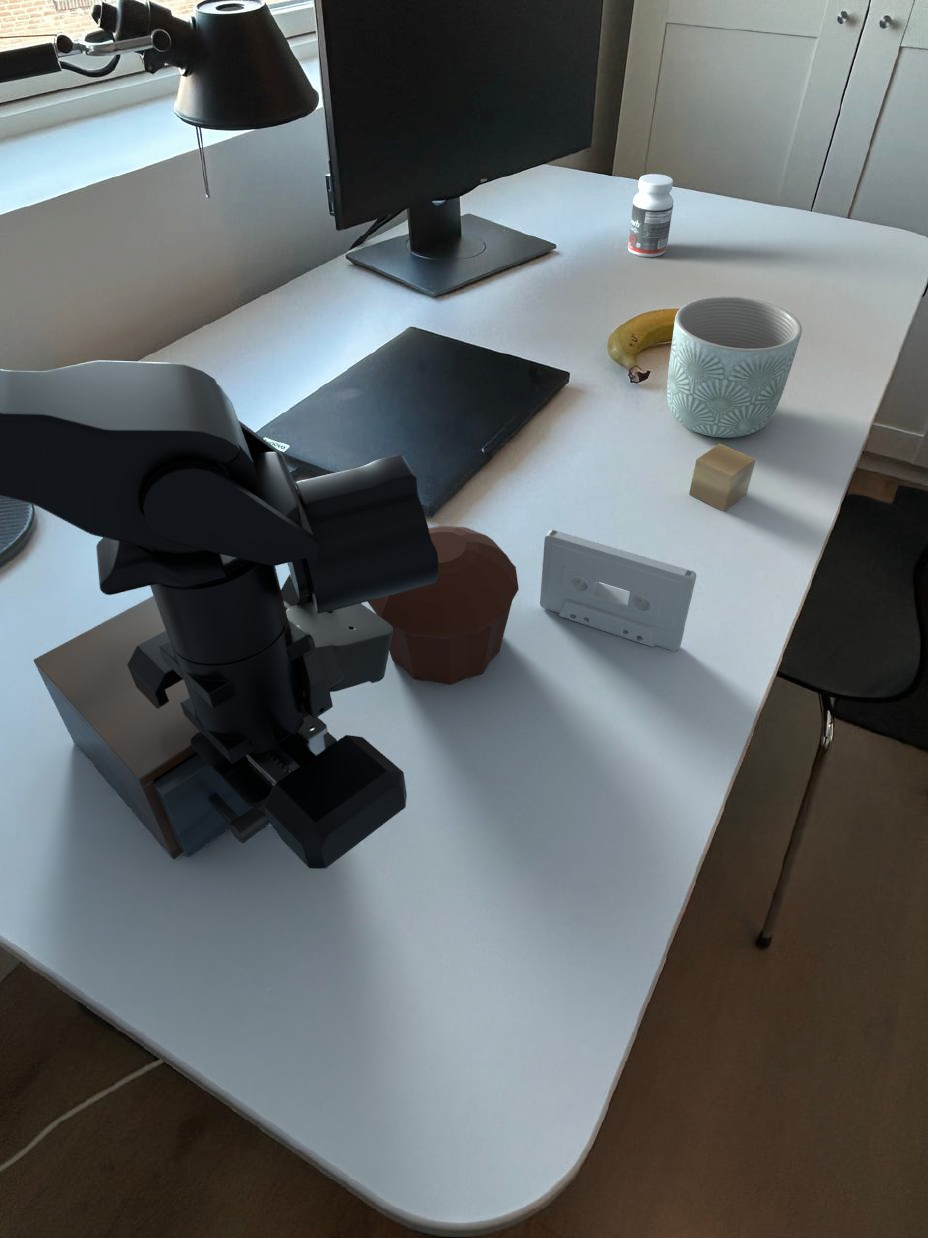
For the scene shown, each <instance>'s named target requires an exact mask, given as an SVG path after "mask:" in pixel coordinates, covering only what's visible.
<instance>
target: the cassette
mask: <svg viewBox="0 0 928 1238" xmlns="http://www.w3.org/2000/svg"><path fill="white" fill-rule="evenodd" d="M696 580H697V573H696V572H695V571H694V570H690V569H687V568H684V567H682V566H681V567H680V566H677V565H674V564H671V563H667V562H664V561H660V560H656V559H654V558H650V557H647V556H643V555H639V554H637V553H633V552H630V551H627V550H623V549H619V548H616V547H613V546H609V545H606V544H603V543H599V542H596V541H592V540H588V539H586V538H582V537H579V536H576V535H572V534H568V533H565V532H562V531H558V530H556V529H550V530H549V531H548V532H547V534H546V535H545V537H544V541H543V556H542V569H541V583H540V597H539V605H540V607H541V608H543V609H545V610H547V611H551V612H554V613H557V614H558V617H561V618H563V619H566V620H570V621H573V622H576V623H579V624H582V625H585V626H587V627H591V628H593V629H596V630H600V631H603V632H606V633H609V634H611V635H614V636H618V637H621V638H624V639H627V640H629V641H633V642H636V643H639V644H643V645H646V646H648V647H652V648H654V647H655V646H658V647H660V648H663V649H667V650H668V651H669V650H670V651H672V652H673V651H674V652H676V651H678V650H679V648H681V645H682V642H683V639H684V638H683V637H684V633H685V628H686V623H687V619H688V614H689V610H690V606H691V602H692V597H693V593H694V589H695V585H696Z"/></svg>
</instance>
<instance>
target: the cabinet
mask: <svg viewBox="0 0 928 1238" xmlns="http://www.w3.org/2000/svg"><path fill="white" fill-rule="evenodd" d="M165 630H166V629H165V626H164V623H163V620H162V618H161V615H160V612H159V609H158V606H157V604H156V601H155V598H154V595H152V596H149V597H148V598H146V599H144V600H143V601H141V602H138V603H137V604H135V605H133V606H131V607H129V608H127V609H126V610H123V611H122V612H120V613H118V614H116V615H114V616H113V617H110V618H108V619H106V620H105V621H103V622H101V623H100V624H97V625H95V626H93V627H92V628H90V629H88V630H86V631H84V632H83V633H81V634H79V635H76V636H75V637H73V638H71V639H70V640H68V641H65V642H63V643H62V644H60V645H58V646H56V647H54V648H52V649H50V650H49V651H47V652H46V653H43V654H41V655H39V656H38V657H35V658H34V659H33V662H34V665H35V667H36V668H37V671H38V673H39V674H40V677H41V680H42V682H43V683H44V685H45V688H46V690H47V691H48V694H49V695H50V698H51V699H52V701H53V704H54V706H55V707H56V709H57V712H58V713H59V716H60V718H61V720H62V722H63V723H64V726H65V727H66V730H67V732H68V734H69V735H70V737H71V740H72V742H73V743H74V744H75V746H76V747H77V748H78V750H79V751H80V752H81V753H83V755H84V757H86V759H87V760H88V761H89V762H90V763H91V764H92V765H93V768H95V769H96V771H98V773H99V774H100V776H102V777H103V779H104V780H105V781H106V782H107V783H108V784H109V786H110V787H111V788H112V789H113V790H114V791H115V793H116V794H117V795H118V796H119V797H120V799H121V800H122V801H123V802H124V804H126V806H127V807H128V808H129V809H130V810H131V812H132V813H133V814H134V815H135V816H136V817H137V819H138V820H139V821H140V823H142V825H143V826H145V828H146V829H147V830H148V832H149V833H150V834H151V835H152V836H153V837H154V838H155V840H156V841H157V843H159V845H160V846H161V847H162V848H163V849H164V851H165V852H166V853H167V854H168V855H169V856H170V858H171V859H172V860H175V859H177V858H178V857H179V856H181V855H182V854H184V852H183V851H182V850H181V848H180V847H179V846H178V843H177V841H176V838H175V836H174V834H173V831H172V829H171V826H170V824H169V822H168V819H167V817H166V815H165V812H164V810H163V807H162V805H161V803H160V800H159V798H158V795H157V793H156V791H155V788H154V786H153V783H154V782H155V781H154V779H156V778H157V777H159V776H160V775H162V774H163V773H165V772H166V771H168V770H170V769H171V768H173V767H174V766H176V765H177V764H179V763H180V762H182V761H183V760H185V759H186V758H188V757H189V756H191V755H192V754H194V753H196V751H195V750H194V749H193V748H192V746H191V744H190V740H191V738H192V737H193V735H195V734H196V733H197V732H199V730H198V729H197V728H196V727H195V726H194V725H193V724H192V723H191V722H190V721H189V719H188V718H187V717H186V716H185V715H184V712H183V710H182V707H181V704H180V702H182V701H184V700H185V699H187V698H189V697H190V696H189V693H188V690H187V687H186V685H185V682H184V679H183V680H181V681H179V682H178V683H176V684H174V685H173V686H171V687H169V688H167V689H166V690H165V691H166V694H167V697H168V699H169V702H168V703H167V704H165V705H163V706H162V707H160V708H158V709H157V708H156V707H155V706H154V705H153V704H152V703H151V702H150V701H149V700H148V699H147V698H146V697H145V696H144V695H143V694H142V692H141V691H140V690H139V689H138V688H137V687H136V685H135V683H134V680H133V678H132V675H131V673H130V670H129V668H128V666H127V664H128V662H129V661H130V659H131V657H132V655H133V653H134V651H135V649H136V647H137V646H138V645H139V644H141V643H143V642H145V641H147V640H149V639H151V638H152V637H154V636H156V635H158V634H160V633H162V632H164V631H165Z"/></svg>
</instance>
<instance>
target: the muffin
mask: <svg viewBox="0 0 928 1238" xmlns="http://www.w3.org/2000/svg"><path fill="white" fill-rule="evenodd" d="M428 529H429V533H430V538H431V540H432V542H433V544H434V546H435V548H436V550H437V554H438V579H437V581H436V583H435V584H431V585H427V586H424V587H420V588H416V589H412V590H409V591H405V592H401V593H397V594H394V595H390V596H386V597H382V598H379V599H375V600H371V601H367V602H366V603H368V605H369V606H370V608H371V609H372V611H373V612H374V613H375V614H377V615H378V616H379V617H381V618H382V619H384V620H385V621H386V622H388V623H389V624H390V625H391V626H392V627H393V634H392V639H391V644H390V649H389V654H390V658H391V659H392V662H394V663H395V664H396V665H398V666H399V667H401V668H402V669H404V670H405V671H406V672H407V673H408V674H409V675H410V676H411V677H412V678H413V679H414V680H415V681H426V682H434V683H440V684H443V685H449V686H451V685H453V684H456V683H458V682H460V681H462V680H466V679H469V678H472V677H476V676H480V675H483V674H484V672H485V670H487V667H488V665H489V664H490V663H491V661H492V660H493V659H494V658H495V657H496V656H497V655H498V654H499V653H500V650H501V647H502V643H503V638H504V635H505V631H506V627H507V623H508V619H509V616H510V612H511V608H512V604H513V601H514V598H515V597H516V595H517V594H518V592H519V590H520V589H519V580H518V573H517V566H515V564H514V562H513V563H512V560H511V559H510V558H509V556H508V554H506V553H505V551H503V549H501V547H500V546H499V545H498V544H497V543H496V542H495V541H494V540H493V539H492V538H491V537H490V536H488V535H486V534H484V533H482V532H480V531H476V530H474V529H471V528H469V527H465V526H456V525H455V526H454V525H437V526H432V527H428Z"/></svg>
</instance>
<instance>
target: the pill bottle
mask: <svg viewBox="0 0 928 1238" xmlns="http://www.w3.org/2000/svg"><path fill="white" fill-rule="evenodd" d="M673 185H674V179H673V178H672V177H670V176H668V175H665V174H659V173H648V174H645V175H641V176H640V177H639V180H638V185H637V186H638V189H639V191H638V193H636V194H635V196H634V197H633V201H632V206H631V215H630V224H629V230H628V239H627V249H628V252H630V253H631V254H632V255H634V256H638V257H643V258H656V257H659V256H662V255H663V254H665V253H666V252H667V248H668V243H669V235H670V230H671V229H670V228H671V222H672V215H673V210H674V209H673V208H674V198H673V196H672V195H671V194H670V193H671V191H672V190H673Z"/></svg>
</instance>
